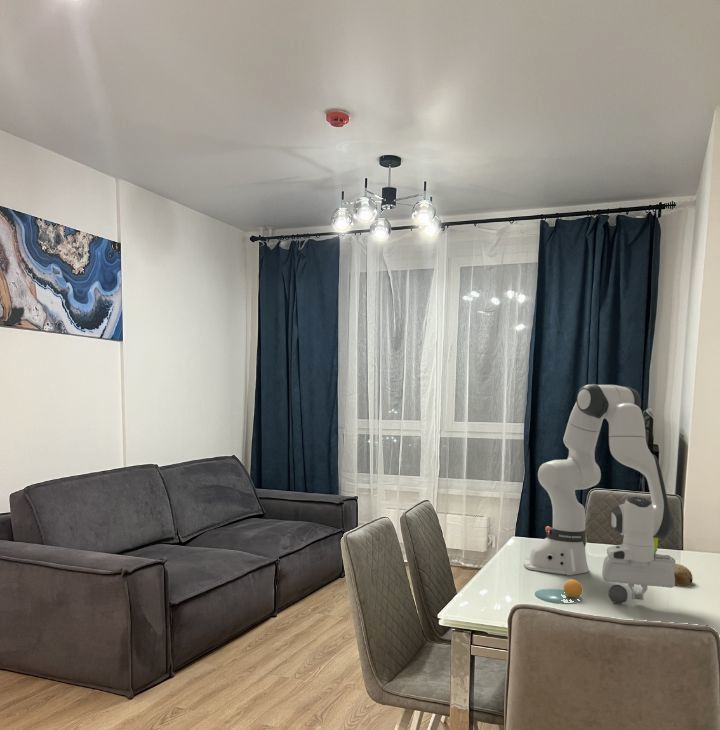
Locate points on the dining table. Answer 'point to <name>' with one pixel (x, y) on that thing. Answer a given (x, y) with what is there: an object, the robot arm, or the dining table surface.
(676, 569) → the bread roll
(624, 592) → the dark gray ball
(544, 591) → the teal patterned plate
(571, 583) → the object ball
